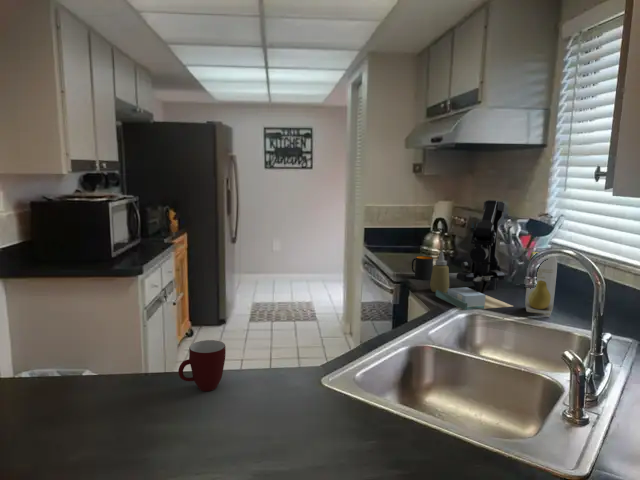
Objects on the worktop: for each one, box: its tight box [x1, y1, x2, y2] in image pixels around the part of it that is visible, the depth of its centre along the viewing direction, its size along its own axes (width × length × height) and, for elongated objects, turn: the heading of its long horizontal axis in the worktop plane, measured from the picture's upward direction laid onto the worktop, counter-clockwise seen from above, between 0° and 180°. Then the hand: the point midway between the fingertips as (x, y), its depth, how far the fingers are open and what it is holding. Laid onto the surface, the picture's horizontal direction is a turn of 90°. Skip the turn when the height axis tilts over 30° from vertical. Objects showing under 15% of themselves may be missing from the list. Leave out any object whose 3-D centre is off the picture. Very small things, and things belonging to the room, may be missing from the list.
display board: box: [435, 290, 514, 311], centre depth 184 cm, size 22×20×4 cm
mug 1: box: [177, 339, 227, 392], centre depth 106 cm, size 10×8×10 cm
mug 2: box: [411, 255, 434, 281], centre depth 229 cm, size 8×12×10 cm
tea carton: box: [446, 286, 487, 306], centre depth 183 cm, size 9×12×4 cm
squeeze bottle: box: [429, 251, 450, 293], centre depth 197 cm, size 8×8×18 cm
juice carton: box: [524, 251, 558, 318], centre depth 171 cm, size 9×8×24 cm
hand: (479, 297), depth 185 cm, fingers closed
